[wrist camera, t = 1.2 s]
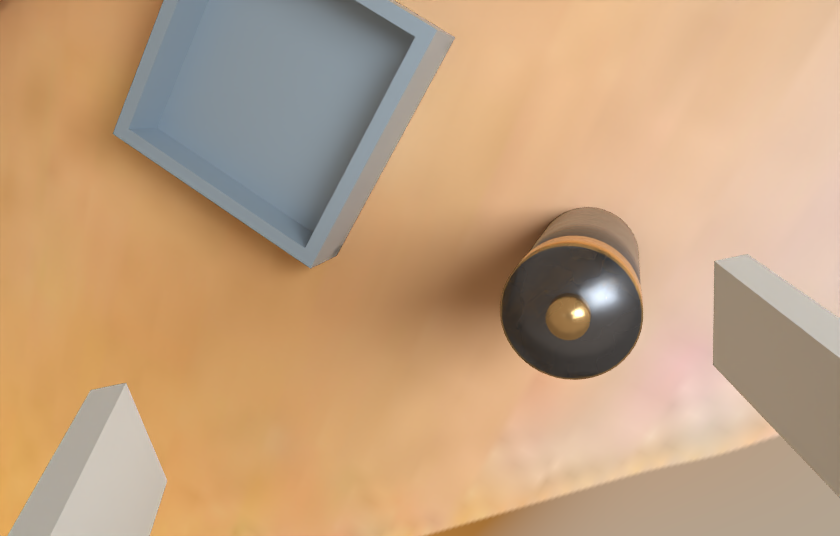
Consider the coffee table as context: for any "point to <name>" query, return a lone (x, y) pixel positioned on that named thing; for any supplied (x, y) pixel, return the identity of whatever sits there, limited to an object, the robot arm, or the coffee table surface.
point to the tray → (281, 107)
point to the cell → (576, 296)
